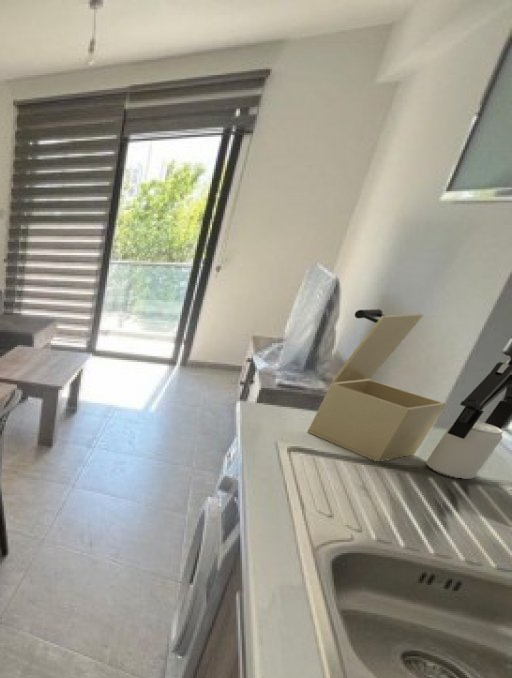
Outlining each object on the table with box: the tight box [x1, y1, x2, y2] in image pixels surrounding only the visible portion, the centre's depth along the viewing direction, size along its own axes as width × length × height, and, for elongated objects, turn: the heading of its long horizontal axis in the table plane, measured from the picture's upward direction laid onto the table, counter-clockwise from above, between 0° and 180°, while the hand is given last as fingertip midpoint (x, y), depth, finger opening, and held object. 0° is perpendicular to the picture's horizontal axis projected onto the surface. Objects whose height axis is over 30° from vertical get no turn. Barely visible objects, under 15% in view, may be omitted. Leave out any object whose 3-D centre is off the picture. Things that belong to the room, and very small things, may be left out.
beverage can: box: [425, 420, 504, 480], centre depth 109 cm, size 8×8×12 cm
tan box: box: [307, 378, 448, 462], centre depth 120 cm, size 17×15×14 cm
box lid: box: [330, 308, 424, 383], centre depth 120 cm, size 18×15×8 cm
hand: (473, 432), depth 107 cm, fingers open, 13 cm apart
